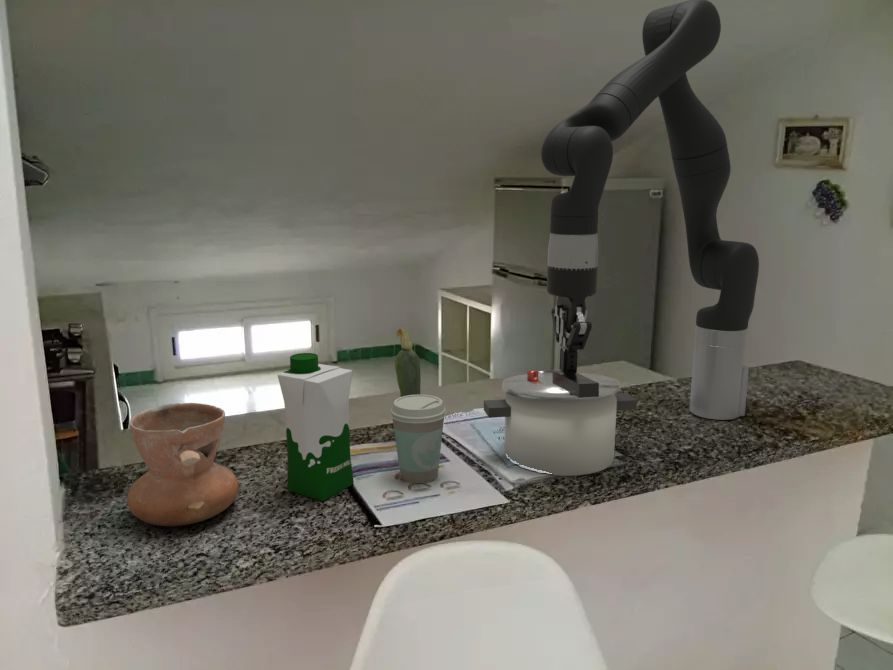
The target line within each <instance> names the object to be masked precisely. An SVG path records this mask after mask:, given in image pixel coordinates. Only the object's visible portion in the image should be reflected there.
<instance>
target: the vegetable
mask: <svg viewBox="0 0 893 670" xmlns="http://www.w3.org/2000/svg"><path fill="white" fill-rule="evenodd" d="M395 335H396V337H397V338H398V337H399V340H400V341H399V343H400V346H401V350H400V351H398V353H397V354H396V356H395V358H394V359H395V360H394V369H395V375H396V380H397V384H398V388H399V394H400V397H403V396H407V395H421V363H420V357H419V356H418V354H417V353H416V352H415V350H414V349H413V343H412V340H411V338H410V336H409V333H407V330H405V329H404V328H398V329H397V330H396V332H395Z"/></svg>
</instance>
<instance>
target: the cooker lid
mask: <svg viewBox="0 0 893 670" xmlns="http://www.w3.org/2000/svg"><path fill="white" fill-rule="evenodd" d="M501 384H502V386H501V387H502V389H501V390H502V392H503V393H505V394H506V393H507V394H509V395H513V396H517V397H522V398H529V399H538V400H562V401H565V400H588V399H597V398H604V397H609V396H612V395H615V394H617V393H620V392H621V381H620V380H618V379H617V378H614V377H611V376H606V375H602V374H594V373H583V372H577V373H576V374H571V375H565V374H564V373H563V372H561V369H556V370H555V369H538V370H537V369H528V370H527V371H526V373H525V374H519V375H518V374H517V375H513V376H510V377H506V378H505V379H503V380H502V382H501Z"/></svg>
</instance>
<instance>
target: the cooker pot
mask: <svg viewBox="0 0 893 670" xmlns="http://www.w3.org/2000/svg"><path fill="white" fill-rule="evenodd" d="M637 405H638V399H636V398H635V397H633V396H632V394H630V393H628V392H621V393H620V392H619V393H617V394H615V395H612V396H609V397H604V398H597V399H588V400H565V401H562V400H538V399H529V398H522V397H517V396H513V395H509V394H507V393H505V399H504V398H503V399H485V400H483V411H484V413H485V414H486V416H487V417H488V418H492V419H493V418H504V454H505V453H506V454H507V455H508V457H510V458H511V459H512V460H513V461H516V462H517V463H519V464H521V465H524V466H527V467H530V468H534V469H537V470H542V471H546V472H549V473H552V474H554V475H553V476H558V475H559V476H562V477H564V476H565V477H571V476H572V477H573V476H584V475H589V474H594V473H598V472H601V471H602V470H605V469H607V468H609V467H610V466H611V465H612V464H613V462H614V460H615V447H616V446H615V443H616V426H617V425H616V424H617V422H616V421H617V411H634V410H635V411H636V410H637V408H638V406H637Z"/></svg>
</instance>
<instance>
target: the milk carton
mask: <svg viewBox="0 0 893 670" xmlns="http://www.w3.org/2000/svg"><path fill="white" fill-rule="evenodd" d="M289 363H290V364H289V367H290V368H289V369H288V370H285V371H283V372H281V373H278V374H277V379H278V383H279V386H280V390H281V394H282V399H283V403H284V416H285V434H286V452H287V454H286V455H287V471H286V472H287V477H286V478H287V479H286V480H287V482H286V484H287V485H286V486H287V487H286V490H287V491H289V492H293V493H296V494H299V495H301V496H305V497H308V498H312V499H314V500H318V501H320V502H325V501H326V500H328V499H330V498H331V497H333V496H335V495H336V494H338V493H340V492H341V491H345V489H348V488H349V487H351V486H352V484H353V483H354V484H355V482H354V473H353V465H352V459H351V440H350V437H351V435H350V431H351V430H350V413H349V412H350V408H349V407H350V406H349V403H350V402H349V398H350V391H351V384H352V376H353V372H354V371H353V369H347V368H341V367H340V366H335V365H328V364H322V363H319V356H318V354H317V353H312V352H311V353H310V352H302V353H301V352H300V353H295V354H292V355H290V357H289ZM354 484H353V485H354Z"/></svg>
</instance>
